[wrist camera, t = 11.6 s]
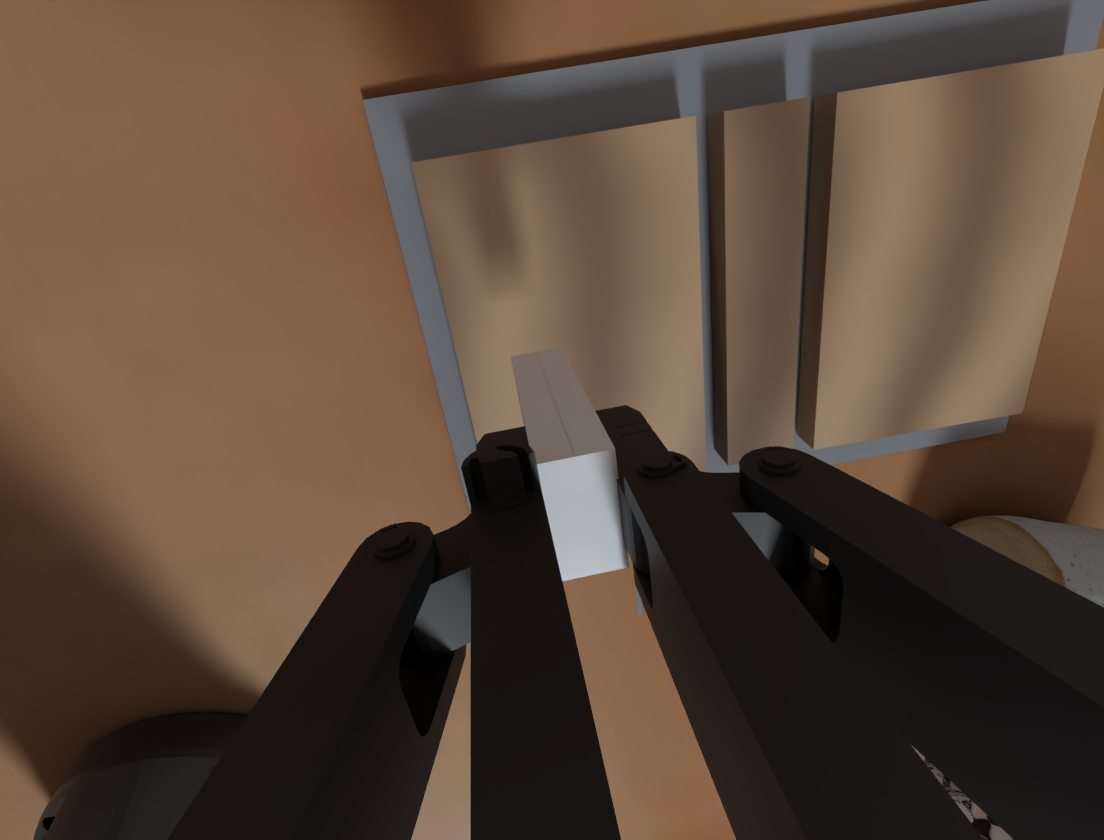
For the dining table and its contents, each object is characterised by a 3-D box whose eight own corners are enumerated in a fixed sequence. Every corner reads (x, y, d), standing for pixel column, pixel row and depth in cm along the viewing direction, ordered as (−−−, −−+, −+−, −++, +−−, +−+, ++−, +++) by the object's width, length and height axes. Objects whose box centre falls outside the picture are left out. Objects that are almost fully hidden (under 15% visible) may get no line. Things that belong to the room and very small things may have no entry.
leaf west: (492, 490, 24) (492, 508, 22) (416, 163, 18) (411, 162, 17) (695, 453, 24) (706, 469, 23) (681, 119, 18) (696, 115, 17)
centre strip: (714, 449, 24) (728, 465, 23) (706, 115, 18) (723, 111, 17) (775, 437, 24) (792, 453, 23) (786, 102, 19) (810, 96, 17)
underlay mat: (474, 528, 25) (474, 532, 24) (364, 101, 17) (362, 99, 17) (999, 429, 26) (1005, 432, 25) (1102, -17, 18) (1112, -20, 18)
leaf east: (797, 434, 24) (813, 449, 23) (813, 97, 18) (837, 92, 17) (995, 400, 24) (1022, 413, 23) (1071, 55, 19) (1113, 47, 17)
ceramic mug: (952, 481, 27) (1113, 593, 20) (1085, 500, 28) (1278, 611, 21) (858, 638, 31) (964, 776, 24) (978, 647, 32) (1110, 780, 26)
